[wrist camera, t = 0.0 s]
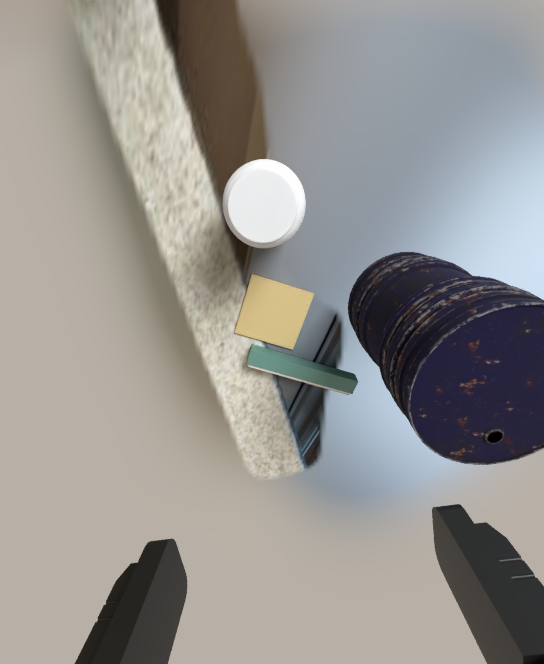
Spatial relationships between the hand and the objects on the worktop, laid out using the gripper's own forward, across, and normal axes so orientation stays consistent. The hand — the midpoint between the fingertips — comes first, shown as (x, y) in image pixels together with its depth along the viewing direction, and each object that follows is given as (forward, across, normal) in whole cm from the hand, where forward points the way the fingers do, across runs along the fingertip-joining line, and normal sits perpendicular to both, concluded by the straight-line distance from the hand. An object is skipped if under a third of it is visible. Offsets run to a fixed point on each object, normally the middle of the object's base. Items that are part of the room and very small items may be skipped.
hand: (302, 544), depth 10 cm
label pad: (+22, +1, -3) cm, 22 cm away
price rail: (+23, -1, +3) cm, 23 cm away
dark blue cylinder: (+23, -11, -2) cm, 25 cm away
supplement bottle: (+21, 0, -13) cm, 24 cm away
